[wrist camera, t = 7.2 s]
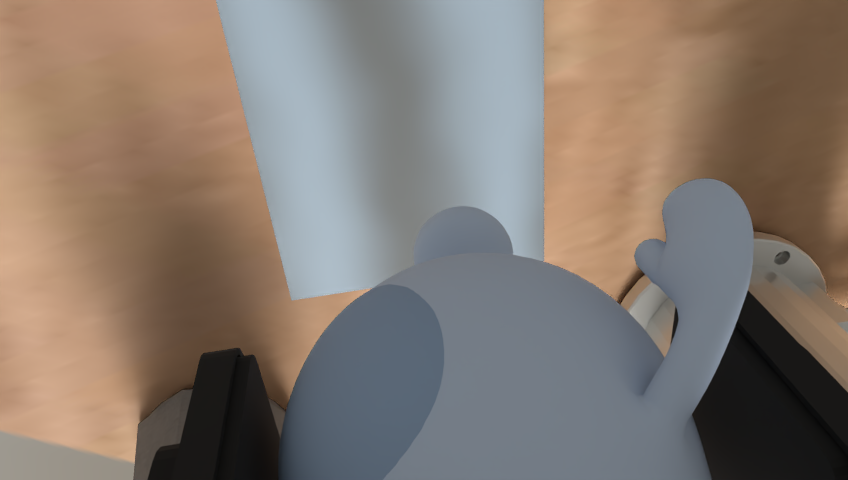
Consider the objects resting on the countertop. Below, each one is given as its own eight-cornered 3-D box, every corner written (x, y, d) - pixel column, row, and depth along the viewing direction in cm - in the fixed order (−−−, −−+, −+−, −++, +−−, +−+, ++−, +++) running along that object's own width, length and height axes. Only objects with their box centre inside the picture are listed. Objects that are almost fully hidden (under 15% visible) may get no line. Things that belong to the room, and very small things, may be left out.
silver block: (490, -149, 25) (543, -148, 19) (502, 183, 32) (544, 260, 26) (222, -119, 24) (188, -107, 18) (297, 214, 31) (291, 300, 25)
